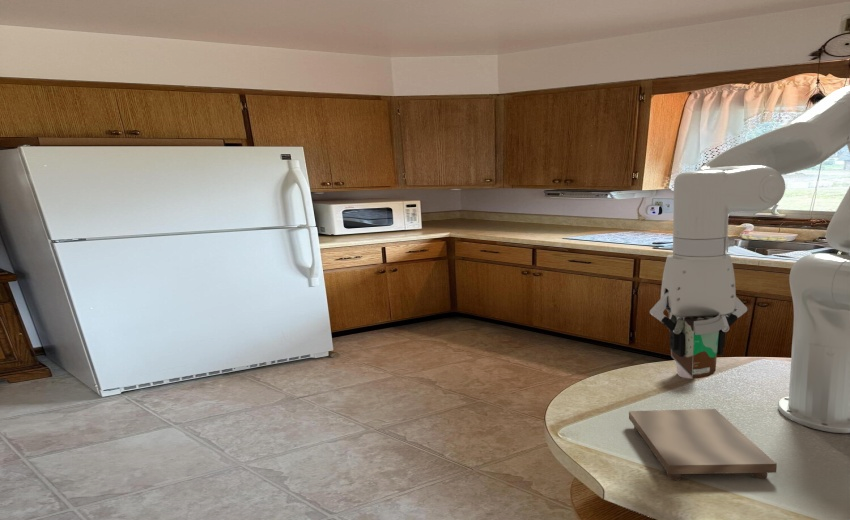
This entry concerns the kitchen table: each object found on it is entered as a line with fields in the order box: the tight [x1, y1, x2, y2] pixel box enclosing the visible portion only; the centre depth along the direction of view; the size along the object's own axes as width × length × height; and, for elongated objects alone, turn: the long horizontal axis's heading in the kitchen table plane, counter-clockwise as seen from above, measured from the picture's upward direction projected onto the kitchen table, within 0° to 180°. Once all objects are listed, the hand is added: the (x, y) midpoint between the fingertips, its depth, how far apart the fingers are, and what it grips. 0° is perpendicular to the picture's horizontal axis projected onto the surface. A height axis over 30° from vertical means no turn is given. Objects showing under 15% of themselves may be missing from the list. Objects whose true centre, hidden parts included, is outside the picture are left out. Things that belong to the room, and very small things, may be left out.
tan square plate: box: [628, 408, 778, 481], centre depth 78 cm, size 16×17×3 cm
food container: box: [666, 310, 724, 379], centre depth 75 cm, size 12×6×10 cm, turn 170°
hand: (696, 351), depth 75 cm, fingers closed on food container, 5 cm apart
